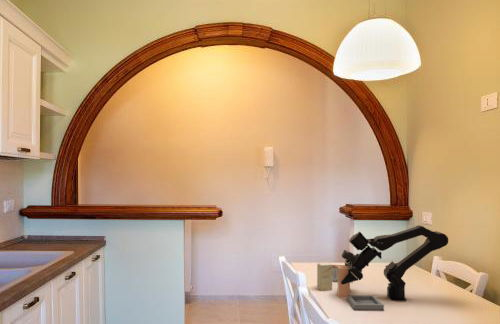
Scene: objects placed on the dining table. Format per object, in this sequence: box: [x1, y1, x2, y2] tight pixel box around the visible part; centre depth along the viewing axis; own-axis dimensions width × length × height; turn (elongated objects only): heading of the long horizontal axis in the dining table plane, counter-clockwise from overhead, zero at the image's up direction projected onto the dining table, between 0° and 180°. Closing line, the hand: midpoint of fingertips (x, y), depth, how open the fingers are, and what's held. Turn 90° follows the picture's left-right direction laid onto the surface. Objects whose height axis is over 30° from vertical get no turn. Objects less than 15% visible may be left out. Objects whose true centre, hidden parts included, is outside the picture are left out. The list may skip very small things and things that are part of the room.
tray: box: [346, 294, 385, 312], centre depth 150 cm, size 12×12×2 cm
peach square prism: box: [337, 266, 351, 299], centre depth 162 cm, size 5×5×13 cm
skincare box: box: [316, 262, 333, 291], centre depth 171 cm, size 6×4×12 cm
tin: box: [332, 264, 345, 283], centre depth 184 cm, size 15×3×8 cm, turn 84°
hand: (340, 280), depth 162 cm, fingers open, 9 cm apart
